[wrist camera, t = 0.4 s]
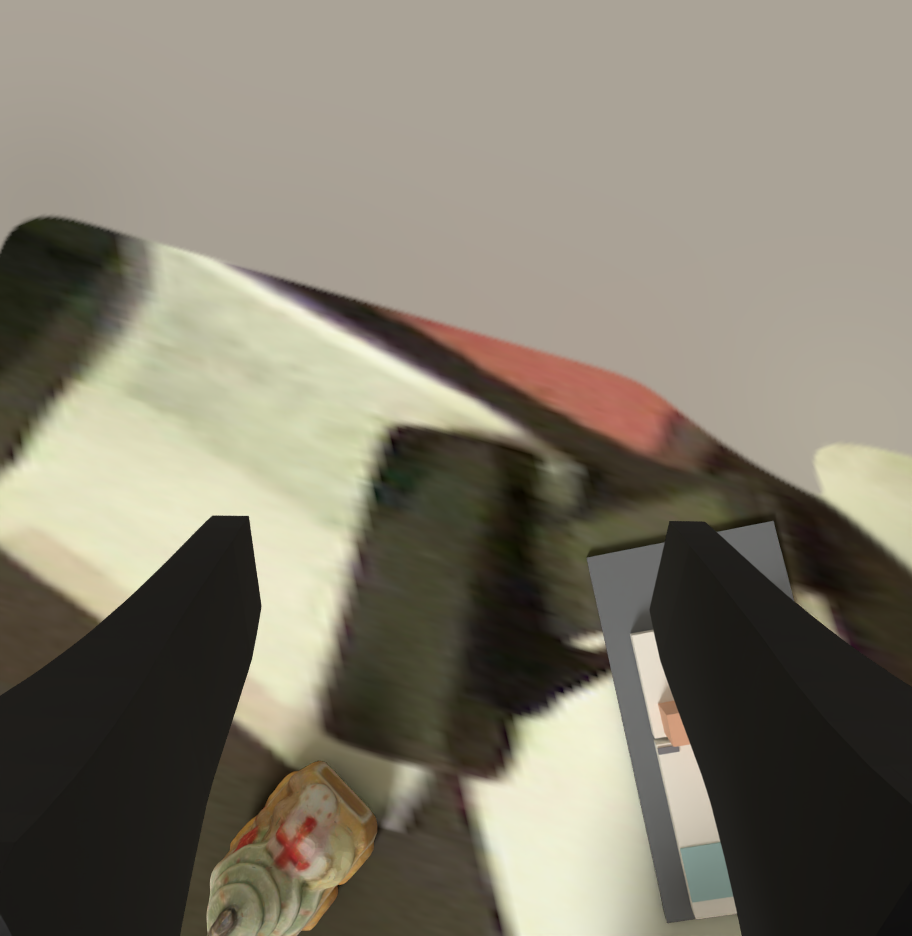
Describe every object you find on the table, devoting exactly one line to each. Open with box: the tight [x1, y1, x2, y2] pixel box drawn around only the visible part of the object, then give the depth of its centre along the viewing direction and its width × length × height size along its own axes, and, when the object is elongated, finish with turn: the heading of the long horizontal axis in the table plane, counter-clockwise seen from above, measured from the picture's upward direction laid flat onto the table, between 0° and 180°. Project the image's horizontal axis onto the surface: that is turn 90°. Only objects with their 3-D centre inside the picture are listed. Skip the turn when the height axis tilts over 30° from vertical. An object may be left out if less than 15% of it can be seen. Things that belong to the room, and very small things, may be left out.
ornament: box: [207, 761, 377, 936], centre depth 35 cm, size 8×6×10 cm
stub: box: [630, 630, 690, 747], centre depth 36 cm, size 5×7×4 cm
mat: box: [587, 521, 794, 923], centre depth 38 cm, size 18×10×1 cm, turn 11°
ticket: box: [654, 737, 737, 920], centre depth 36 cm, size 8×7×1 cm
